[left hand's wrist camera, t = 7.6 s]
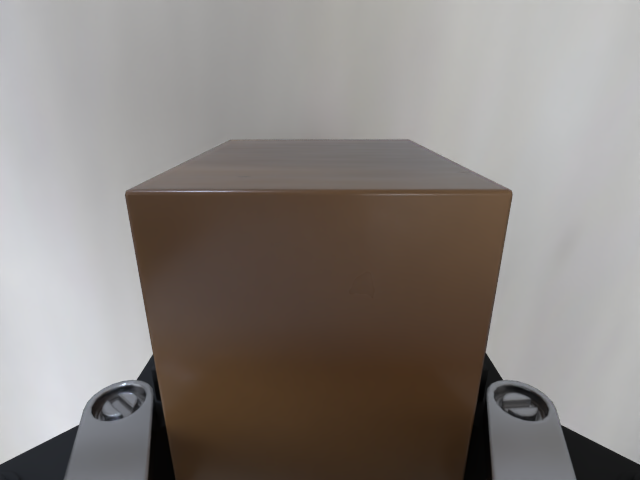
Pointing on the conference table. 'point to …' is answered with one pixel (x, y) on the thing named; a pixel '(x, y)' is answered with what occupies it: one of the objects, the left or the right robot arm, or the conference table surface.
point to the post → (319, 307)
